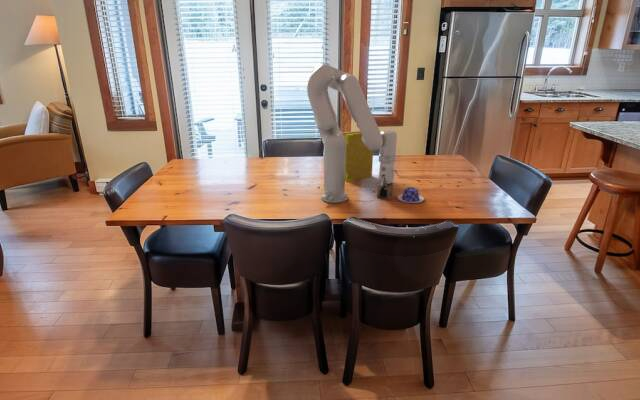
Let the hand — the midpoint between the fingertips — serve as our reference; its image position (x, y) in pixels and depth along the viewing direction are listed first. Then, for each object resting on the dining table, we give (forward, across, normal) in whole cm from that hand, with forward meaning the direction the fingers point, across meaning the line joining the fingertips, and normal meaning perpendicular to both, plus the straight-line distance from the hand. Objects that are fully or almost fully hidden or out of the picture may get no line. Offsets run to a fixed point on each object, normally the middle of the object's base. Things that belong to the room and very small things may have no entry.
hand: (385, 194), depth 176 cm
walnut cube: (+1, 0, 0) cm, 1 cm away
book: (+1, +21, +21) cm, 30 cm away
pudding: (+1, +1, -12) cm, 12 cm away
